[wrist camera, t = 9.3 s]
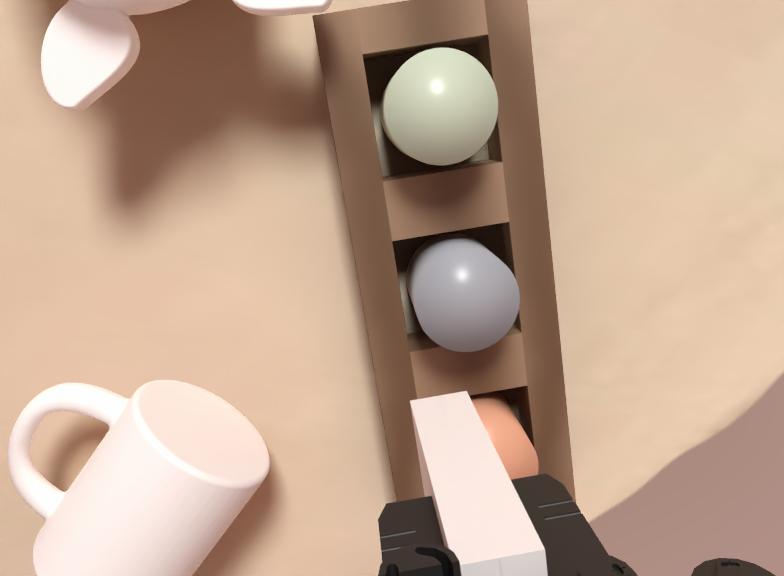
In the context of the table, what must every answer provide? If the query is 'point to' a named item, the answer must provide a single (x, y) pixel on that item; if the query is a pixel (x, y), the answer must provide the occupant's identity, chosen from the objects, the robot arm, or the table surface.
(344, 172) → the brown wooden slot rack
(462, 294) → the slate button
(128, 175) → the table surface
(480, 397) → the peach rounded piece
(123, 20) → the piggy bank
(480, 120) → the sage button
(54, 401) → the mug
